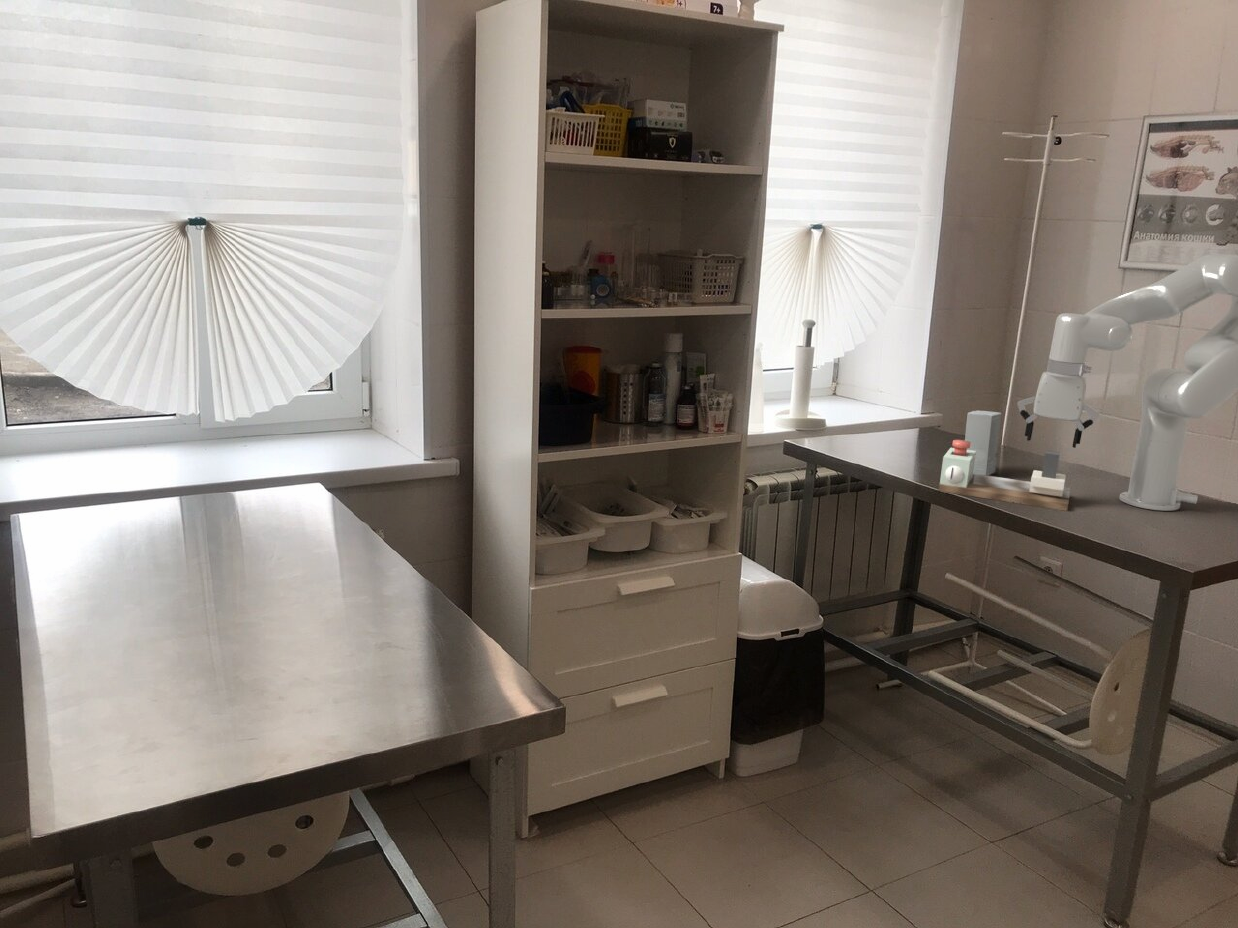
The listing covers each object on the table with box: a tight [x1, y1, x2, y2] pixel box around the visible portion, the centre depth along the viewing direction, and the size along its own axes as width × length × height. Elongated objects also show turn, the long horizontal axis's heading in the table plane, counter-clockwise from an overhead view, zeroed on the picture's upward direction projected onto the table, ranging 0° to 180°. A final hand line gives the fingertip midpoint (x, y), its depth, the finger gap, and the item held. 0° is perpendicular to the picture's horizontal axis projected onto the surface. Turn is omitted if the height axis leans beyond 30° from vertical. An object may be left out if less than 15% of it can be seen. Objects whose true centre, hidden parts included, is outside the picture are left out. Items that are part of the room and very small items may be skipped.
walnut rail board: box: [937, 474, 1072, 512], centre depth 233 cm, size 28×14×4 cm, turn 64°
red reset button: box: [952, 439, 970, 456], centre depth 236 cm, size 4×4×3 cm
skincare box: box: [964, 409, 1003, 476], centre depth 251 cm, size 8×7×16 cm
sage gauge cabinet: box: [939, 447, 976, 488], centre depth 237 cm, size 6×12×6 cm, turn 154°
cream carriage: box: [1029, 449, 1067, 497], centre depth 228 cm, size 7×8×9 cm
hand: (1051, 443), depth 227 cm, fingers open, 9 cm apart
